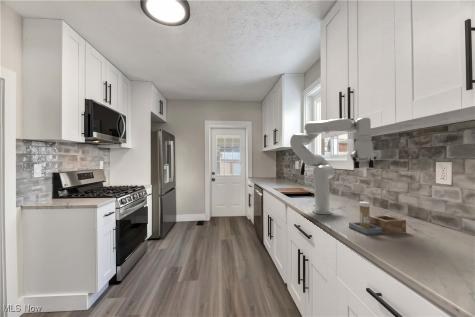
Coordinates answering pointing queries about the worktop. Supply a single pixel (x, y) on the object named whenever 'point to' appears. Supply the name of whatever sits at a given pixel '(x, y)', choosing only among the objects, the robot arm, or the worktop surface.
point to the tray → (365, 231)
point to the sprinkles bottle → (364, 215)
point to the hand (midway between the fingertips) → (364, 168)
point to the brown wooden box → (389, 224)
